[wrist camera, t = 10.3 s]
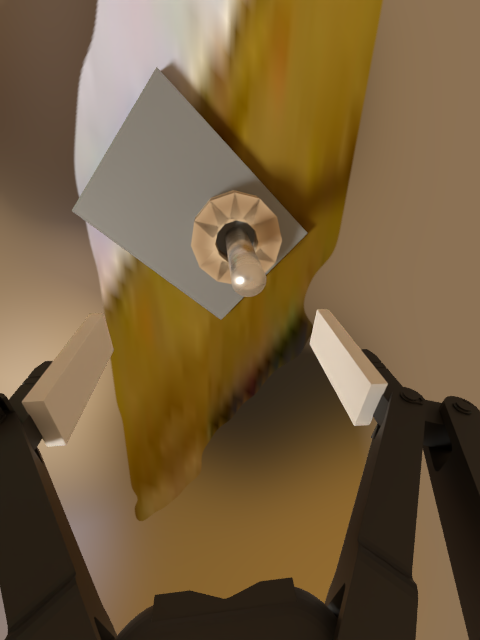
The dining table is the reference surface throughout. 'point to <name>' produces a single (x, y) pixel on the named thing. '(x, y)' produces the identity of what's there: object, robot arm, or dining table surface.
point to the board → (173, 192)
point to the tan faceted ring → (228, 211)
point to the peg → (244, 263)
